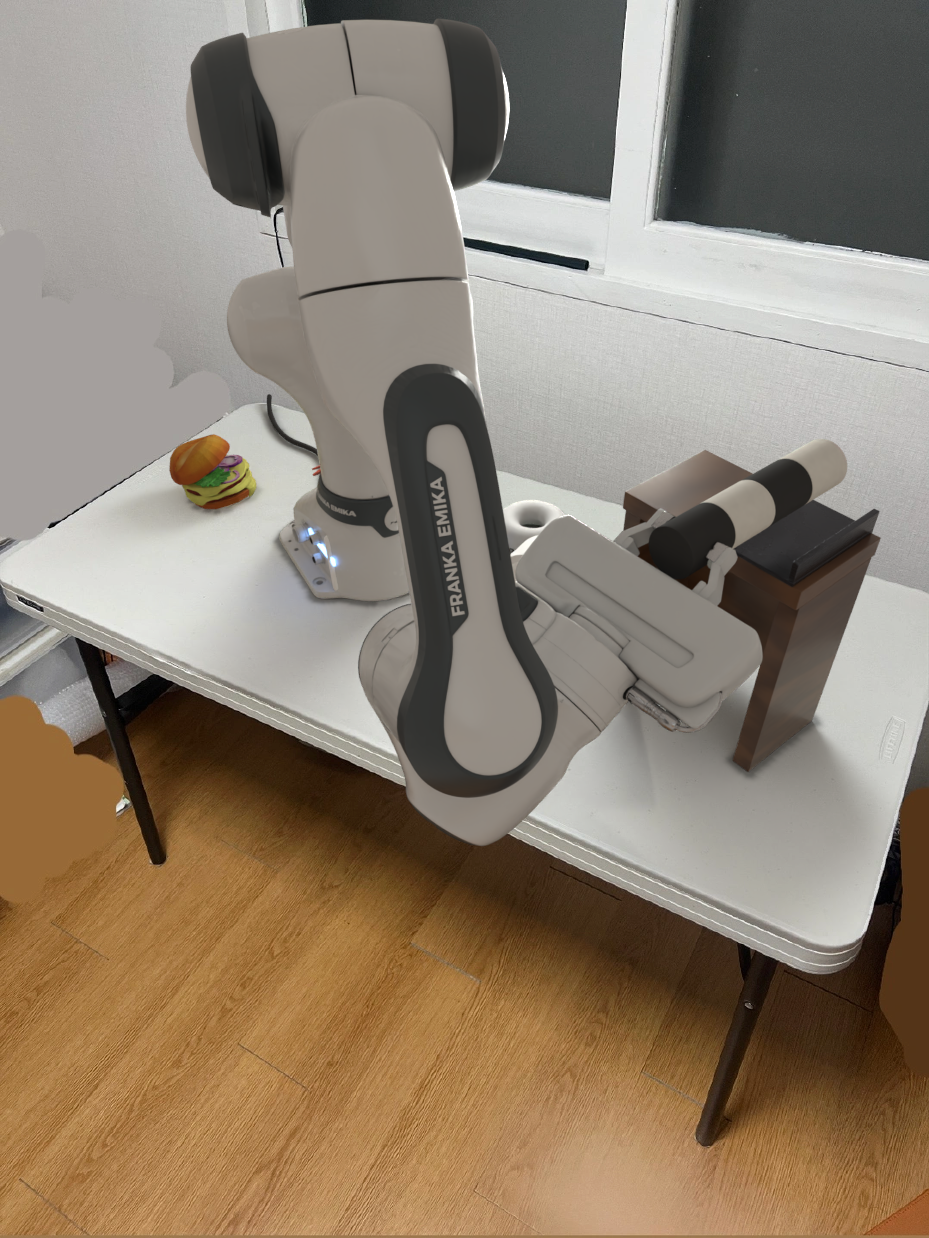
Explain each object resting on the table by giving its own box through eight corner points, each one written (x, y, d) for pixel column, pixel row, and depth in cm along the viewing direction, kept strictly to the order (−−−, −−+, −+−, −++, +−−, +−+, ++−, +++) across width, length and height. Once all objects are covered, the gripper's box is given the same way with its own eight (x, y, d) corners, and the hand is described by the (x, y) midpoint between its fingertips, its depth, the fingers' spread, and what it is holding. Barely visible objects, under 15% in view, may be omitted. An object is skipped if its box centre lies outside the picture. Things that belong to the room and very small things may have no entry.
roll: (688, 589, 68) (697, 542, 65) (645, 562, 70) (651, 516, 68) (840, 495, 77) (853, 450, 74) (796, 474, 80) (808, 430, 77)
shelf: (602, 668, 102) (624, 491, 86) (672, 623, 108) (705, 449, 92) (745, 774, 90) (801, 592, 74) (815, 718, 96) (881, 537, 80)
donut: (489, 555, 118) (564, 562, 117) (488, 534, 116) (565, 541, 114) (501, 512, 126) (572, 518, 124) (501, 492, 123) (573, 498, 122)
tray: (705, 537, 80) (710, 515, 79) (786, 489, 86) (792, 468, 84) (792, 587, 75) (798, 565, 73) (872, 533, 80) (880, 511, 79)
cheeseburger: (252, 513, 126) (222, 454, 119) (184, 528, 128) (150, 471, 121) (265, 473, 133) (237, 416, 127) (200, 488, 135) (169, 432, 129)
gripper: (678, 730, 59) (810, 576, 60) (480, 582, 71) (593, 456, 72) (696, 760, 64) (818, 617, 65) (509, 617, 76) (614, 498, 77)
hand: (698, 532), depth 69 cm, fingers closed on roll, 4 cm apart
